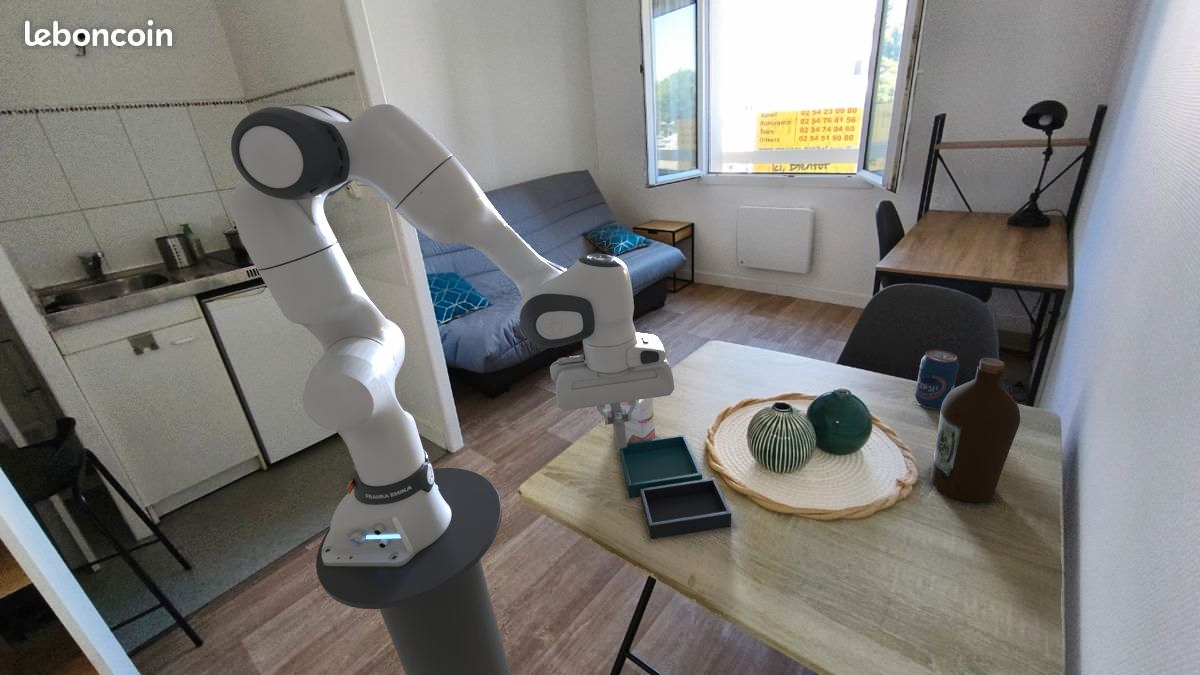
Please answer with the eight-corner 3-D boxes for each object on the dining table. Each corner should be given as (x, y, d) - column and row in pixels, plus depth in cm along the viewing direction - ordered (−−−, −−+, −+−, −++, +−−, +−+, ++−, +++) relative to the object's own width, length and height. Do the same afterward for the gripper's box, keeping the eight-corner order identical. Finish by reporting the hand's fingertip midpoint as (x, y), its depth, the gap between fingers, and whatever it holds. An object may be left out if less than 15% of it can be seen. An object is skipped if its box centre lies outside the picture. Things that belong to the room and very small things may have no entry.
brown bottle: (981, 467, 94) (1014, 347, 84) (1010, 508, 84) (1051, 379, 74) (917, 464, 96) (941, 347, 86) (939, 503, 87) (968, 377, 77)
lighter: (627, 447, 87) (623, 408, 84) (617, 448, 87) (613, 409, 83) (621, 424, 93) (617, 386, 90) (612, 425, 93) (607, 388, 90)
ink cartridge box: (656, 438, 112) (653, 380, 106) (643, 449, 108) (639, 390, 102) (625, 426, 117) (620, 370, 111) (612, 437, 114) (606, 380, 108)
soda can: (908, 403, 114) (917, 356, 110) (920, 391, 118) (929, 345, 113) (943, 414, 109) (953, 366, 105) (954, 401, 113) (965, 354, 108)
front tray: (650, 539, 86) (649, 525, 85) (640, 501, 94) (639, 488, 93) (731, 527, 87) (731, 513, 85) (714, 490, 95) (714, 477, 94)
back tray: (629, 498, 95) (628, 485, 94) (619, 455, 107) (618, 443, 106) (702, 487, 96) (702, 474, 95) (684, 446, 108) (684, 434, 107)
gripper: (548, 368, 80) (560, 440, 85) (675, 350, 81) (678, 422, 86) (547, 351, 85) (559, 419, 91) (666, 335, 86) (669, 403, 92)
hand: (618, 421), depth 89 cm, fingers closed on lighter, 2 cm apart
